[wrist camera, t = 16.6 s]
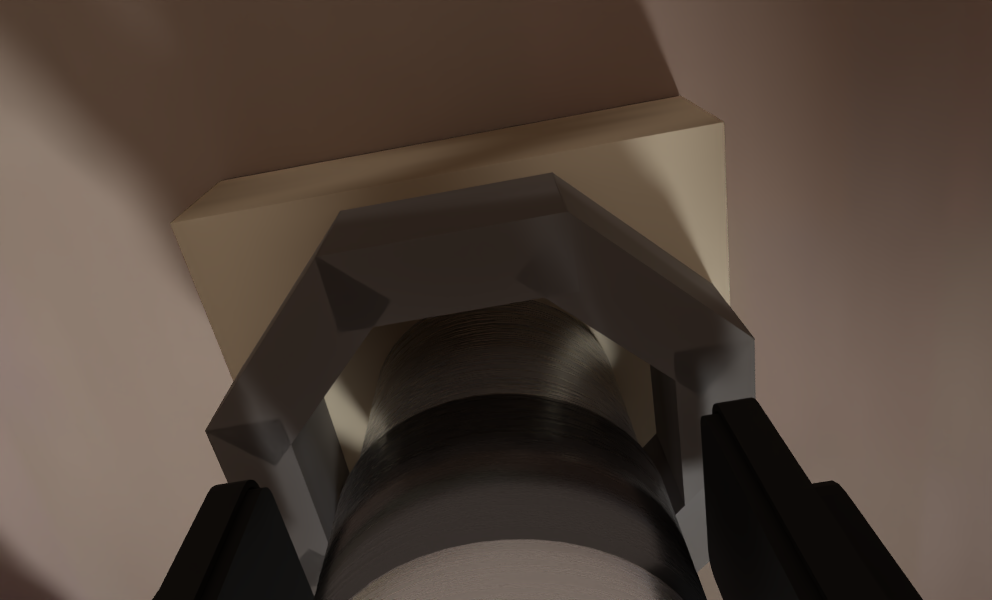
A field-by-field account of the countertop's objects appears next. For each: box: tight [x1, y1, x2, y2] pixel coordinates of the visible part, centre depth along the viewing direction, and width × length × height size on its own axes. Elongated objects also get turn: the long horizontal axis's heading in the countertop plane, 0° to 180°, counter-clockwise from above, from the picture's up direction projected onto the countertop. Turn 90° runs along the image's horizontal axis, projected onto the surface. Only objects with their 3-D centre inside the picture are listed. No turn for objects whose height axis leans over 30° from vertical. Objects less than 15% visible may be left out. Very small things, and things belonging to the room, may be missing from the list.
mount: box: [170, 96, 755, 597], centre depth 13 cm, size 9×9×4 cm
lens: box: [314, 300, 707, 600], centre depth 9 cm, size 5×5×8 cm
